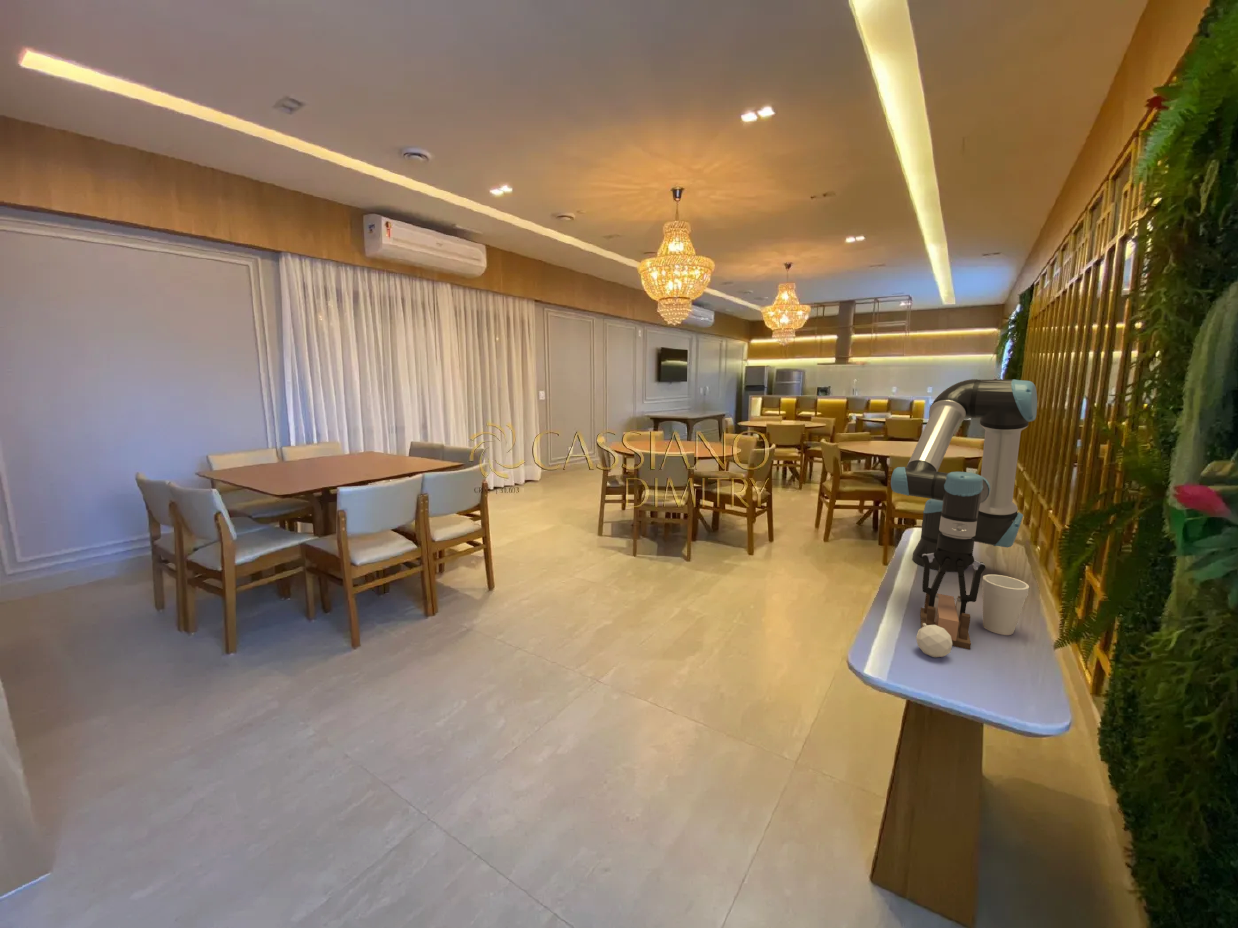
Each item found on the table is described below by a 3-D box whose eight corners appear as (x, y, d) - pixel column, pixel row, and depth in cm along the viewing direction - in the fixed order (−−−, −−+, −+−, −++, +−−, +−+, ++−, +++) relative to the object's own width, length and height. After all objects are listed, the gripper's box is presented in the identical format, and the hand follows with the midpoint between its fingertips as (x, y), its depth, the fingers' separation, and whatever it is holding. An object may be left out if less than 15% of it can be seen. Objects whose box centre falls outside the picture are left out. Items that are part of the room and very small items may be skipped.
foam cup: (1008, 641, 123) (1016, 592, 121) (968, 624, 131) (975, 578, 129) (1028, 632, 127) (1036, 585, 125) (988, 617, 136) (995, 572, 133)
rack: (920, 612, 138) (923, 586, 136) (963, 621, 133) (967, 595, 132) (921, 638, 124) (925, 610, 123) (970, 649, 119) (974, 620, 118)
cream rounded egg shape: (932, 664, 113) (912, 630, 115) (924, 659, 120) (905, 627, 122) (963, 653, 111) (942, 618, 114) (953, 648, 118) (934, 615, 121)
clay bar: (956, 640, 120) (958, 621, 119) (936, 636, 122) (939, 617, 121) (951, 613, 134) (953, 596, 133) (933, 610, 136) (935, 593, 135)
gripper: (917, 532, 125) (906, 619, 129) (1001, 544, 117) (987, 637, 121) (916, 525, 131) (906, 608, 135) (996, 536, 123) (983, 624, 127)
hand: (944, 621), depth 128 cm, fingers open, 4 cm apart
